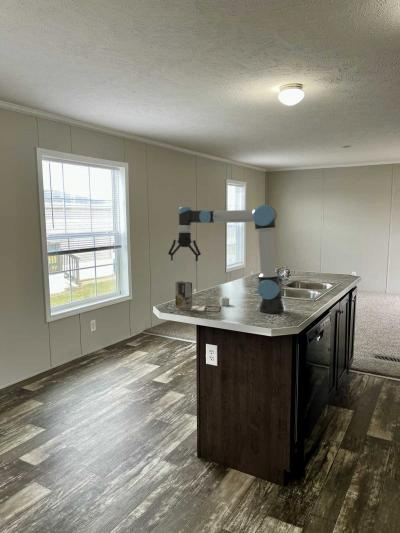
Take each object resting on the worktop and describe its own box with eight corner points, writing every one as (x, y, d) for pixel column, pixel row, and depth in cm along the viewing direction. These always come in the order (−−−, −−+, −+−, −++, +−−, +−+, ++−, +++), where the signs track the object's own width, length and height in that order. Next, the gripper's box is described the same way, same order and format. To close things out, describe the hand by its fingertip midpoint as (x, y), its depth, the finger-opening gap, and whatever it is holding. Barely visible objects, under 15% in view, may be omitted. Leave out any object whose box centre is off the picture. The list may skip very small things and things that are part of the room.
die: (226, 304, 259) (226, 296, 258) (229, 305, 254) (229, 297, 253) (219, 304, 258) (219, 296, 257) (221, 306, 253) (222, 298, 252)
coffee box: (192, 307, 244) (192, 282, 242) (185, 309, 239) (185, 283, 238) (182, 305, 250) (182, 280, 248) (174, 306, 246) (175, 281, 244)
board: (220, 307, 249) (220, 306, 249) (219, 312, 235) (219, 311, 235) (177, 305, 252) (177, 304, 252) (173, 310, 239) (173, 309, 238)
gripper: (205, 232, 242) (204, 266, 244) (166, 231, 245) (165, 264, 247) (204, 232, 234) (203, 267, 237) (163, 231, 237) (163, 266, 240)
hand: (184, 266), depth 242 cm, fingers open, 13 cm apart
